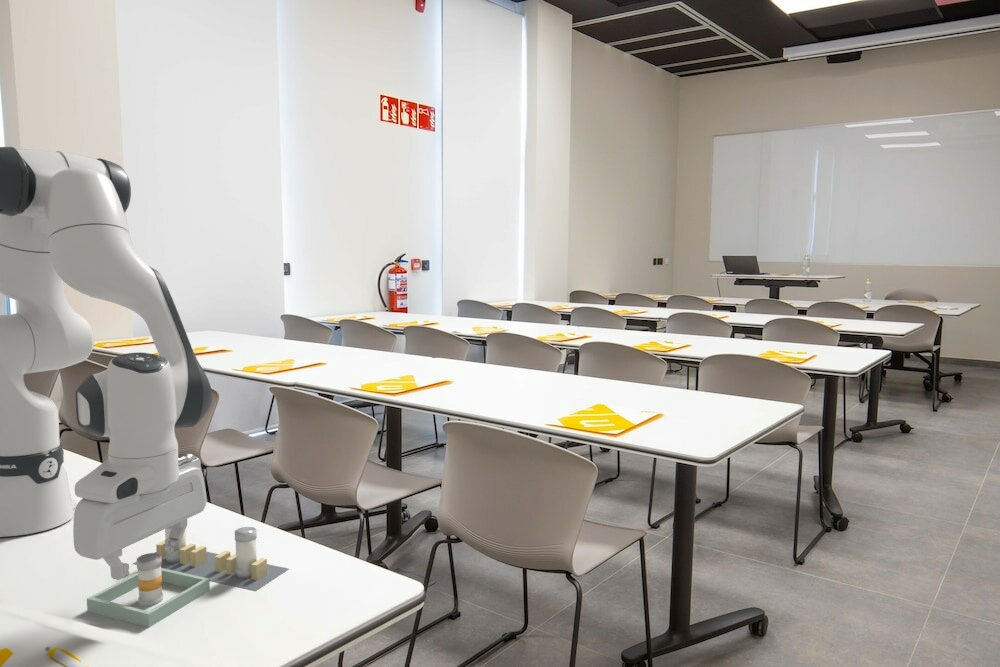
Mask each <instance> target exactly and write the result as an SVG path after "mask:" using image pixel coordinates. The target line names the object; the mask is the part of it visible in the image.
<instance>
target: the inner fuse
mask: <svg viewBox="0 0 1000 667" xmlns="http://www.w3.org/2000/svg"><path fill="white" fill-rule="evenodd" d="M171 528H172V526H170V527H168V528H166V529H164V534H165V536H164V537H165V539H167V538H169V535H170V532H171ZM186 533H187V532H186V529H185V532H184V534H183V537H182V538H181V541H182V547H181V548H183V547H185V546H187V536H186V535H187V534H186ZM165 539H164V540H165ZM165 558H166V562H168V563H177V562H180V551H179V550H177V551H175V552H173V553H172V552H167V551H166V553H165Z"/></svg>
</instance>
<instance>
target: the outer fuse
mask: <svg viewBox="0 0 1000 667" xmlns="http://www.w3.org/2000/svg"><path fill="white" fill-rule="evenodd" d="M257 531H258V530H257V527H254V526H243V527H239V528H237V529H235V530H234V541H235V554H236V577H238V578H251V564H252V563H254V562H256V561H257V537H258V532H257Z"/></svg>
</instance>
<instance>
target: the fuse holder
mask: <svg viewBox="0 0 1000 667" xmlns="http://www.w3.org/2000/svg"><path fill="white" fill-rule="evenodd" d="M155 546H156V547H155V549H156V550H155V551H156V552H154V553H159V554H161V556H162V565H161V568H164V569H168V570H173V571H177V572H182V573H186V574H191V575H195V576H200V577H204V578H209V579H210V582H213V583H217V584H222V585H227V586H231V587H235V588H240V589H245V590H248V591H253V592H258V591H259V590H260V589H262V588H264V587H265V586H266V585H267V584H269V583H270V582H272V581H273V580H275V579H277V578H279V576H282V575H283V574H285V572H287V571H288V570H290V568H287V567H284V566H283V567H282V566H277V565H274V564H273V565H272V564H269V563H268V559H267V558H263V557H260V558H259V559H258V560H257V561H256V562H254V563H252V564H251V578H238V577H236V553H234V554H231V551H230V550H224V551H222V552H220V553H216V552H210V551H207V546H205V545H204V546H203V545H201V546H198V547H196V546H197V545H196V544H194V543H189V544H186V546H185V547H183V548H181V549H179V551H180V562H177V563H168V562H166V558H165V553H166V550H165V546H166V545H165V540H162V541H161V542H159V543H156V545H155ZM133 564H134V565H136V566H137V561H134V562H133V563H132V565H133Z"/></svg>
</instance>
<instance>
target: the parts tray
mask: <svg viewBox="0 0 1000 667" xmlns="http://www.w3.org/2000/svg"><path fill="white" fill-rule="evenodd" d="M161 573H162V583H164V584H169V585H174V586H178V587H182V588H186V589H185V590H183V591H182V592H180V593H178V594H176V595H175V596H173V597H171V598H169V599H168V600H166V601H164V602H163V603H161V604H159V605H158V606H156V607H154V608H152V609H151V610H149V611H148V610H144V609H140V608H138V607H132V606H128V605H125V604H120V603H116V602H113V601H114V600H116V599H117V598H120V597H122V596H123V595H126V594H127V593H129V592H131V591H133V590H134V589H138V572H136V573H134V574H132V575H130V576H127V577H125V578H123V579H121V581H120V580H119V581H118V582H116V583H115V584H113V585H111V586H109V587H107V588H105V589H103V590H101V591H98V593H95V594H93V595H91V596H89V597H87V598H86V607H87V609H86V612H87V613H93V614H96V615H100V616H103V617H107V618H112V619H114V620H115V619H116V620H119V621H124V622H127V623H131V624H133V625H138V626H143V627H146V628H151V627H153V626H155V625H156V624H157V623H159V622H161V621H162V620H164V619H165V618H167V617H169V616H171V615H173V614H174V613H176V612H177V611H179V610H180V609H182V608H184V607H185V606H187V605H188V604H190V603H192V602H193V601H196V599H199V598H200V597H202V596H203V595H205V594H207V593H208V592H210V591H211V590H210V589H211V587H210V582H211V581H210V579H209V578H204V577H200V576H195V575H191V574H186V573H182V572H177V571H173V570H168V569H164V568H161Z"/></svg>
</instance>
